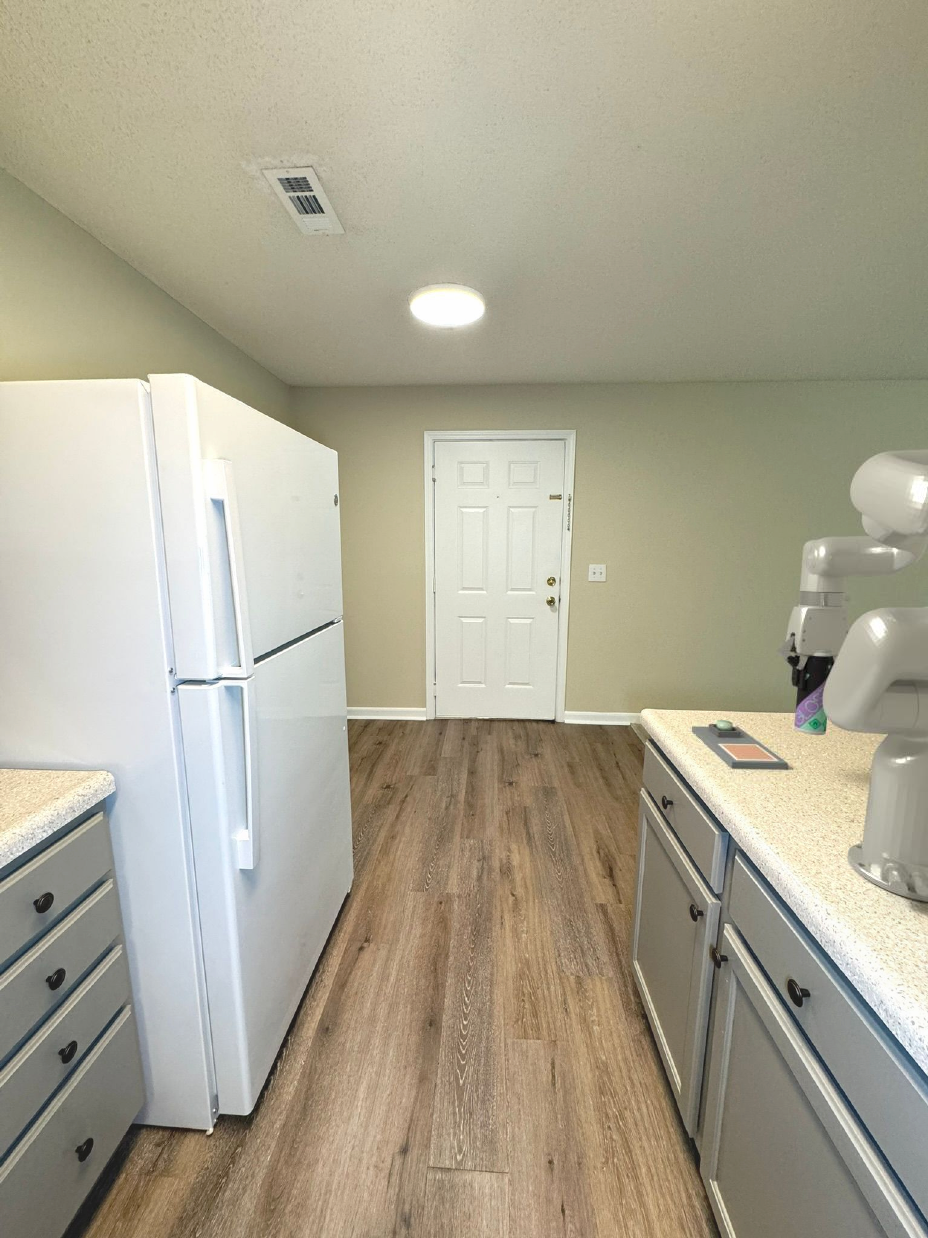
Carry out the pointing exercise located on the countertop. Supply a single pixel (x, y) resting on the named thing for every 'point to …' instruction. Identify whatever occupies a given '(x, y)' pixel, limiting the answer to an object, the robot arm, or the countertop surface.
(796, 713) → the spray can
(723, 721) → the button
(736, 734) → the picture board
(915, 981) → the countertop surface
